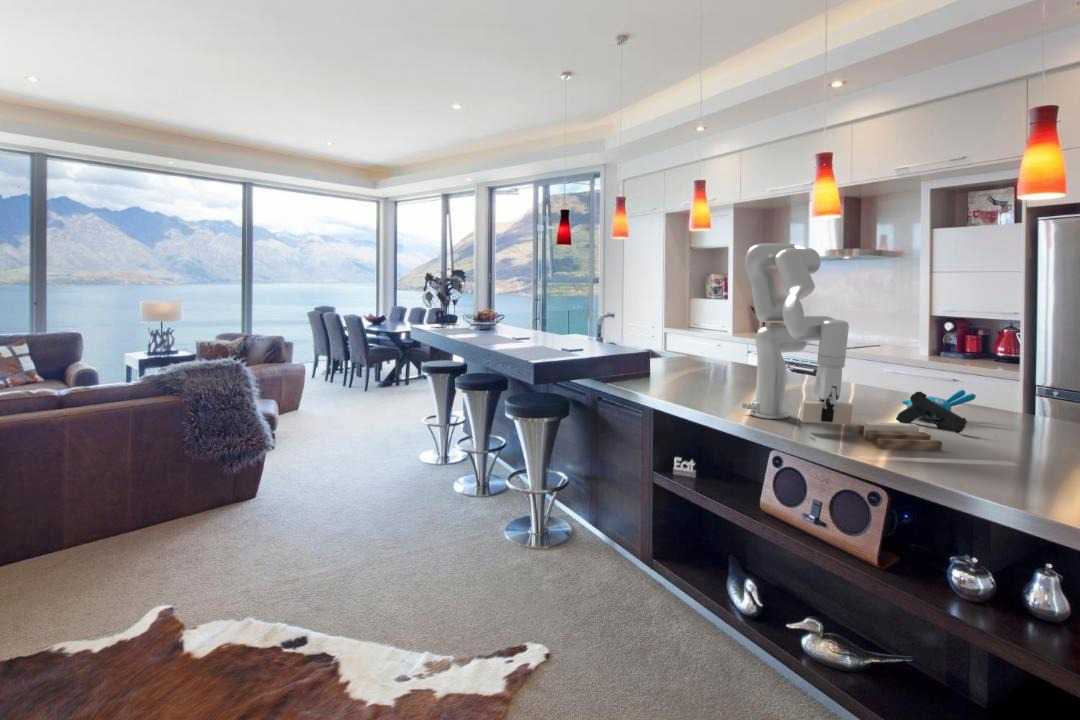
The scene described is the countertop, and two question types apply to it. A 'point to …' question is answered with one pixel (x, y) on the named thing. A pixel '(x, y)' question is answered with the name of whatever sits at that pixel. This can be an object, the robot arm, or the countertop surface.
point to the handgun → (931, 413)
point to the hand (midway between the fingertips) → (824, 419)
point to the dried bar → (890, 427)
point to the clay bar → (813, 412)
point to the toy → (946, 402)
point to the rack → (900, 440)
